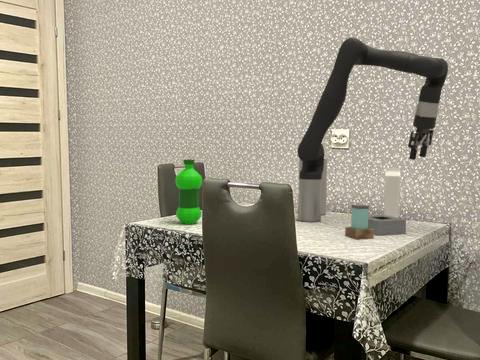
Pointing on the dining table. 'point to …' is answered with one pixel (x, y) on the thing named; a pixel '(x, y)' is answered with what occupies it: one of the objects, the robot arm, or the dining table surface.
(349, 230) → the brown wooden square frame
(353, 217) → the plug
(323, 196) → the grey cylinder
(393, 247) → the dining table surface
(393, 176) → the milk
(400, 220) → the port
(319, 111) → the robot arm
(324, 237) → the dining table surface
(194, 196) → the plastic bottle
